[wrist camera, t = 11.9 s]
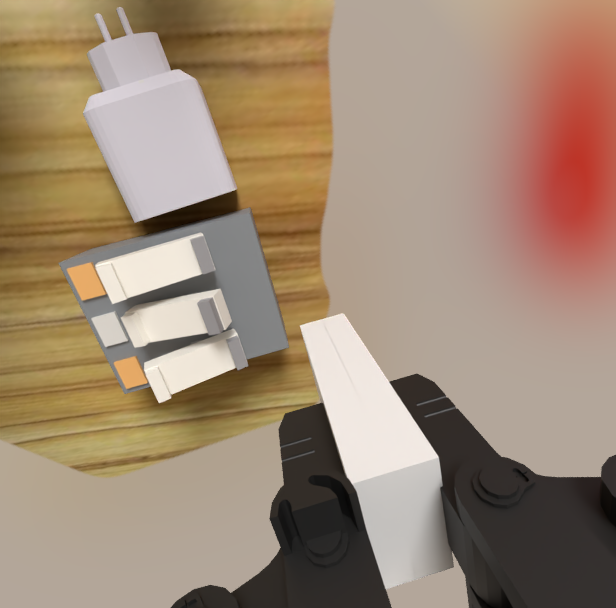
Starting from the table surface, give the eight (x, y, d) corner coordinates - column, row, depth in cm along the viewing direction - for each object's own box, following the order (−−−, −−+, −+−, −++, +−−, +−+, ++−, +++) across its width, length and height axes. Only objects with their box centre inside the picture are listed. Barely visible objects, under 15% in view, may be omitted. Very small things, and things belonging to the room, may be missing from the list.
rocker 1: (114, 298, 28) (111, 305, 26) (97, 262, 27) (93, 267, 25) (212, 266, 31) (217, 271, 29) (200, 232, 30) (204, 234, 28)
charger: (173, 7, 30) (238, 189, 35) (65, 40, 29) (147, 218, 35) (159, -23, 25) (235, 190, 31) (32, 16, 25) (131, 224, 30)
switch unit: (140, 363, 39) (118, 399, 33) (87, 250, 35) (49, 266, 28) (284, 323, 40) (289, 351, 34) (250, 207, 36) (249, 213, 29)
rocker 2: (149, 335, 32) (134, 348, 30) (135, 304, 31) (119, 316, 29) (231, 321, 30) (222, 334, 28) (220, 288, 29) (209, 299, 27)
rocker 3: (157, 391, 32) (158, 404, 29) (144, 362, 31) (143, 374, 28) (243, 356, 34) (249, 366, 32) (233, 328, 33) (239, 336, 31)
